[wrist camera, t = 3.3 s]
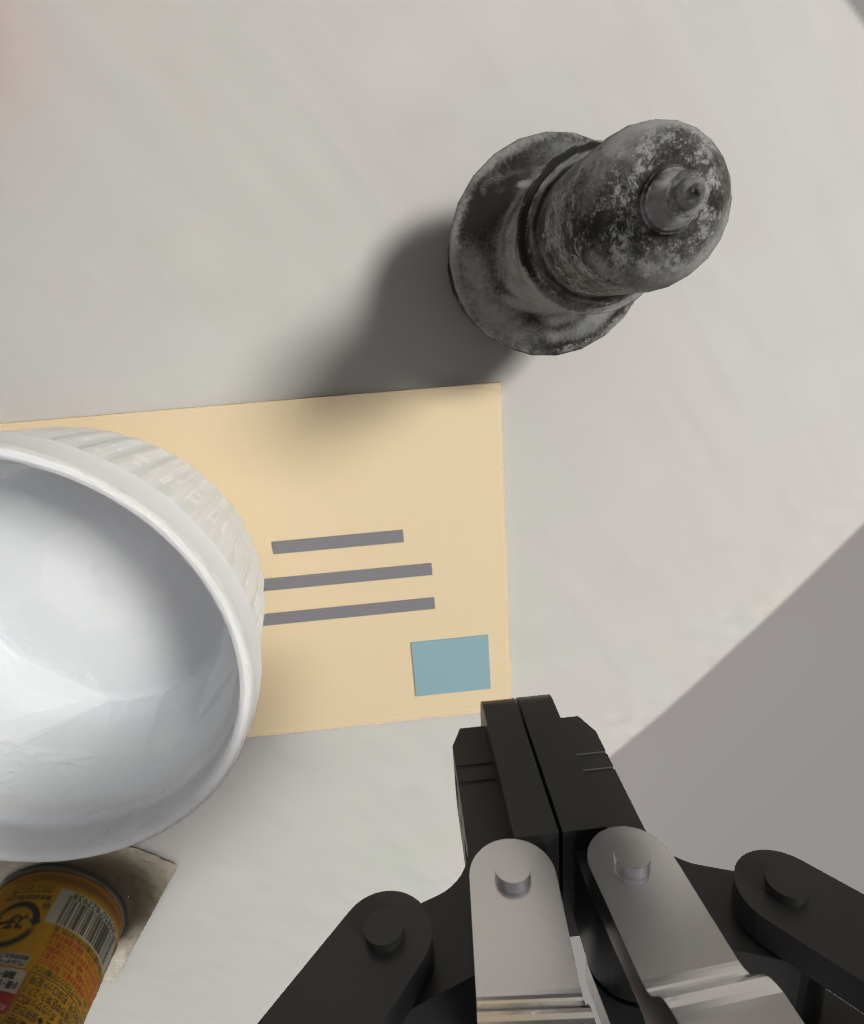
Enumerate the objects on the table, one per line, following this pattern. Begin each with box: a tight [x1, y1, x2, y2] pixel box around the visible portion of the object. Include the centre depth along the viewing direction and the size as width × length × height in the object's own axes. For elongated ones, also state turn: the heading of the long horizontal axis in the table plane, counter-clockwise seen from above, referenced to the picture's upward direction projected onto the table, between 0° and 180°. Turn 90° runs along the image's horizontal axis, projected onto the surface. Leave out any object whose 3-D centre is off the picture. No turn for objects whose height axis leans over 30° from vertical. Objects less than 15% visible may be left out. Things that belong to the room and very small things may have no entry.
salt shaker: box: [448, 119, 732, 355], centre depth 15 cm, size 6×6×12 cm
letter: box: [0, 382, 512, 738], centre depth 23 cm, size 14×18×1 cm
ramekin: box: [0, 426, 266, 862], centre depth 19 cm, size 13×13×7 cm
